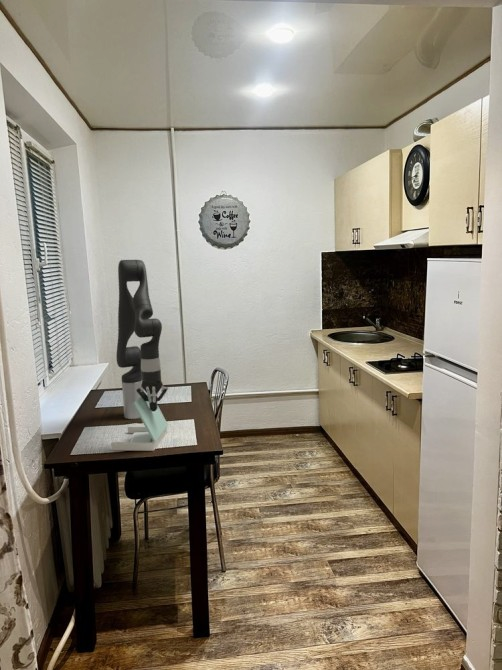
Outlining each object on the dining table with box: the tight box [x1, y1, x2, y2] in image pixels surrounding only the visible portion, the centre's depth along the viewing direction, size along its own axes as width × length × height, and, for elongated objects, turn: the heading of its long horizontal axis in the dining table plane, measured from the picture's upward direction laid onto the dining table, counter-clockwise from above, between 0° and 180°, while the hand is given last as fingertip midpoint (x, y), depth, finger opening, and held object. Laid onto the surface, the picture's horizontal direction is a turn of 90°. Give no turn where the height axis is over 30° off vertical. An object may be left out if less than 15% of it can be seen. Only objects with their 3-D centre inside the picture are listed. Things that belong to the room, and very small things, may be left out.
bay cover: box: [133, 392, 169, 442], centre depth 195 cm, size 18×17×1 cm
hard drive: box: [129, 432, 152, 442], centre depth 199 cm, size 2×8×12 cm
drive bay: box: [110, 425, 168, 452], centre depth 198 cm, size 19×17×3 cm
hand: (153, 410), depth 195 cm, fingers closed
